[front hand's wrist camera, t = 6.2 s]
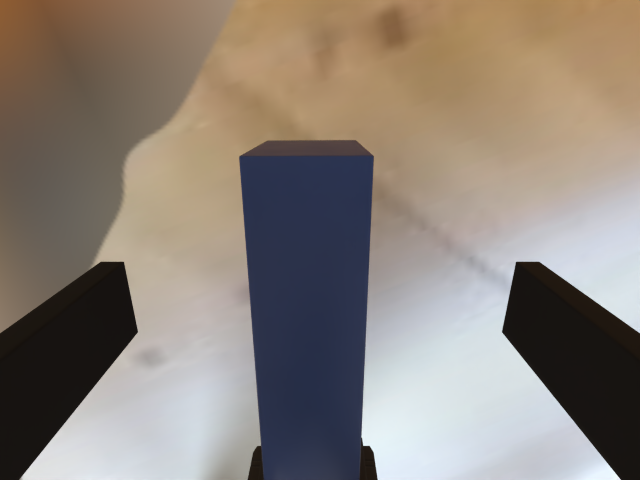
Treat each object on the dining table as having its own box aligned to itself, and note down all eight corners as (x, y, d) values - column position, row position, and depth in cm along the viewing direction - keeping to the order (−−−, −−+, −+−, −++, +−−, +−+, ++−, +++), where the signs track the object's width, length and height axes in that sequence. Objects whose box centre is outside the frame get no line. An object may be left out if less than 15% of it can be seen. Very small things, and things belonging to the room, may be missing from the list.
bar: (266, 140, 22) (238, 155, 15) (356, 140, 22) (374, 155, 15) (282, 453, 30) (270, 563, 23) (347, 453, 30) (355, 563, 23)
